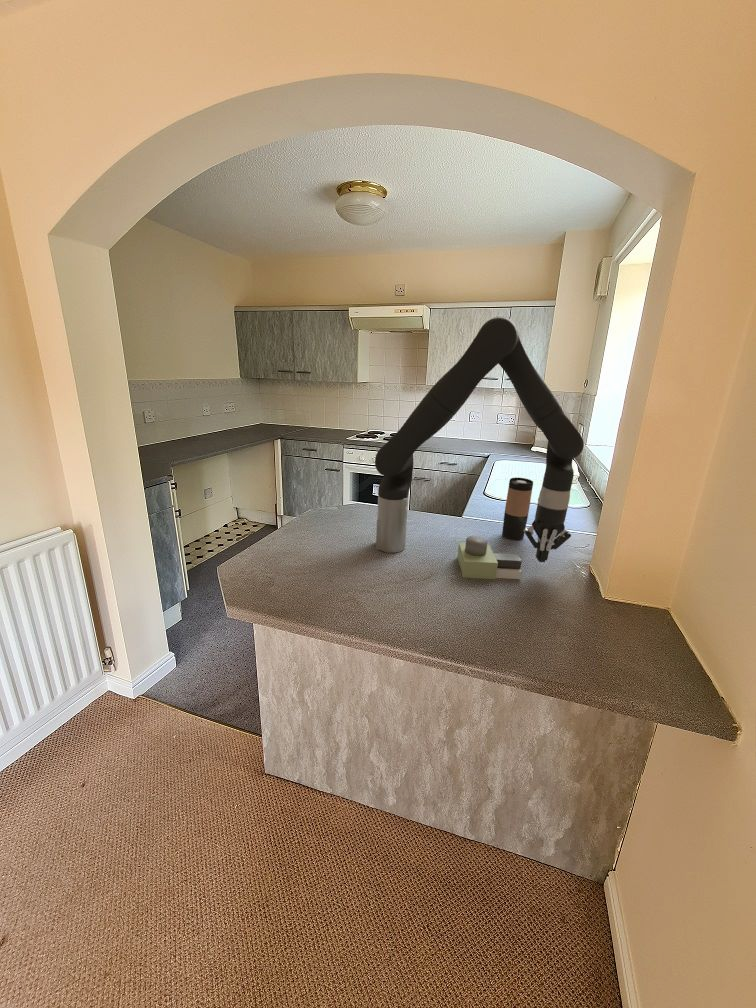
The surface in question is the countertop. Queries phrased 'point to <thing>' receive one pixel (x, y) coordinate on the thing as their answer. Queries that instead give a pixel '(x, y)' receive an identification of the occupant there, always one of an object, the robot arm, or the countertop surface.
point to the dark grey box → (508, 561)
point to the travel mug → (517, 508)
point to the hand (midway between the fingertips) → (540, 560)
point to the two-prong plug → (481, 561)
